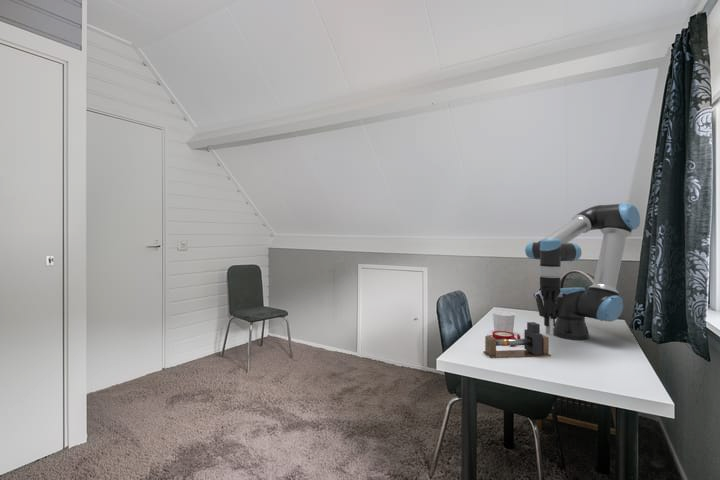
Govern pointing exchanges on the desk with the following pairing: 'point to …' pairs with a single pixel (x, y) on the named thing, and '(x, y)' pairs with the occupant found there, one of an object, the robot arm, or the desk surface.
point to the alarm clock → (504, 335)
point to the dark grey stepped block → (533, 338)
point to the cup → (503, 321)
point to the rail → (492, 353)
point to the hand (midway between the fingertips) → (549, 334)
